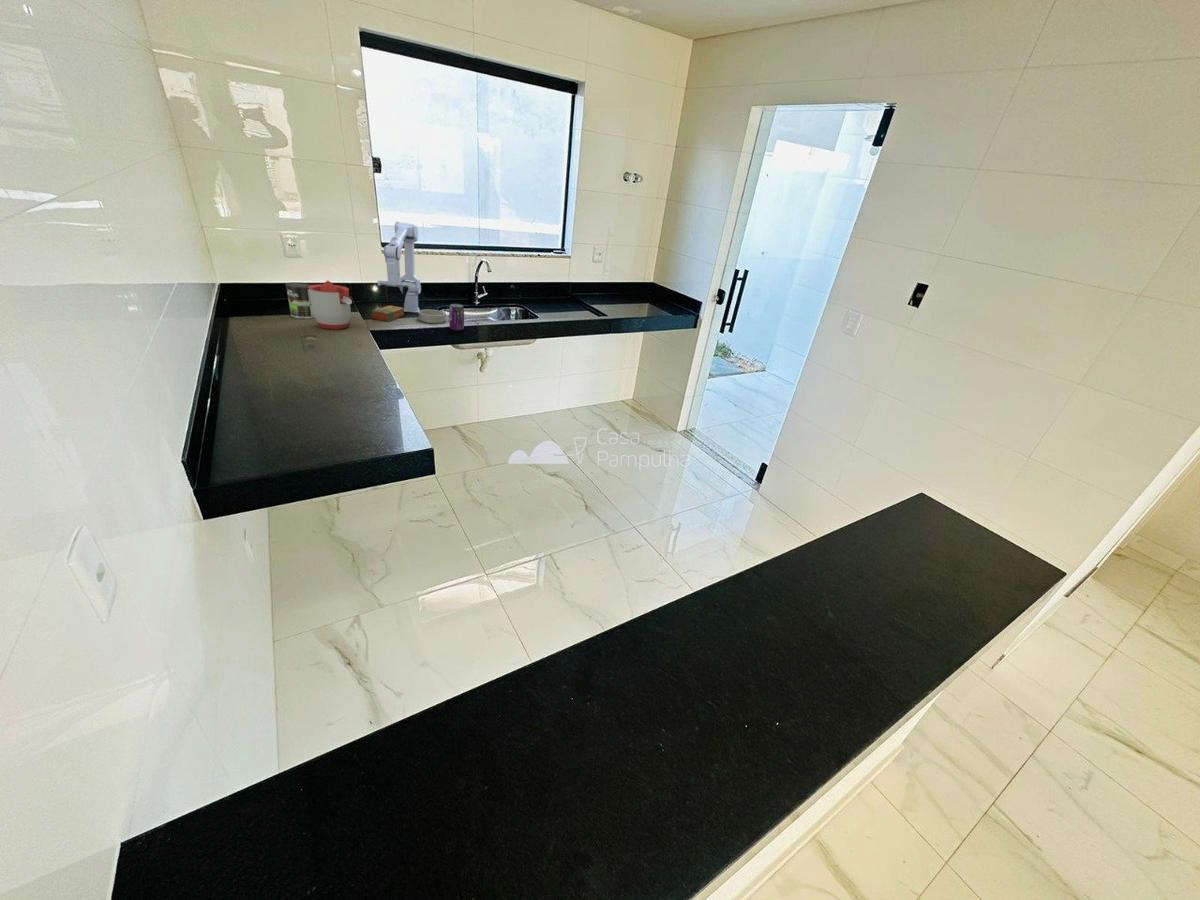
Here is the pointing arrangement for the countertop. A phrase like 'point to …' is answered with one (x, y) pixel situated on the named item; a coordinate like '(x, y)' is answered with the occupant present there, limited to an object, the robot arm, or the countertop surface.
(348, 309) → the citrus juicer
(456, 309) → the beverage can
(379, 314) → the carton
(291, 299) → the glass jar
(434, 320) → the beige round dish
